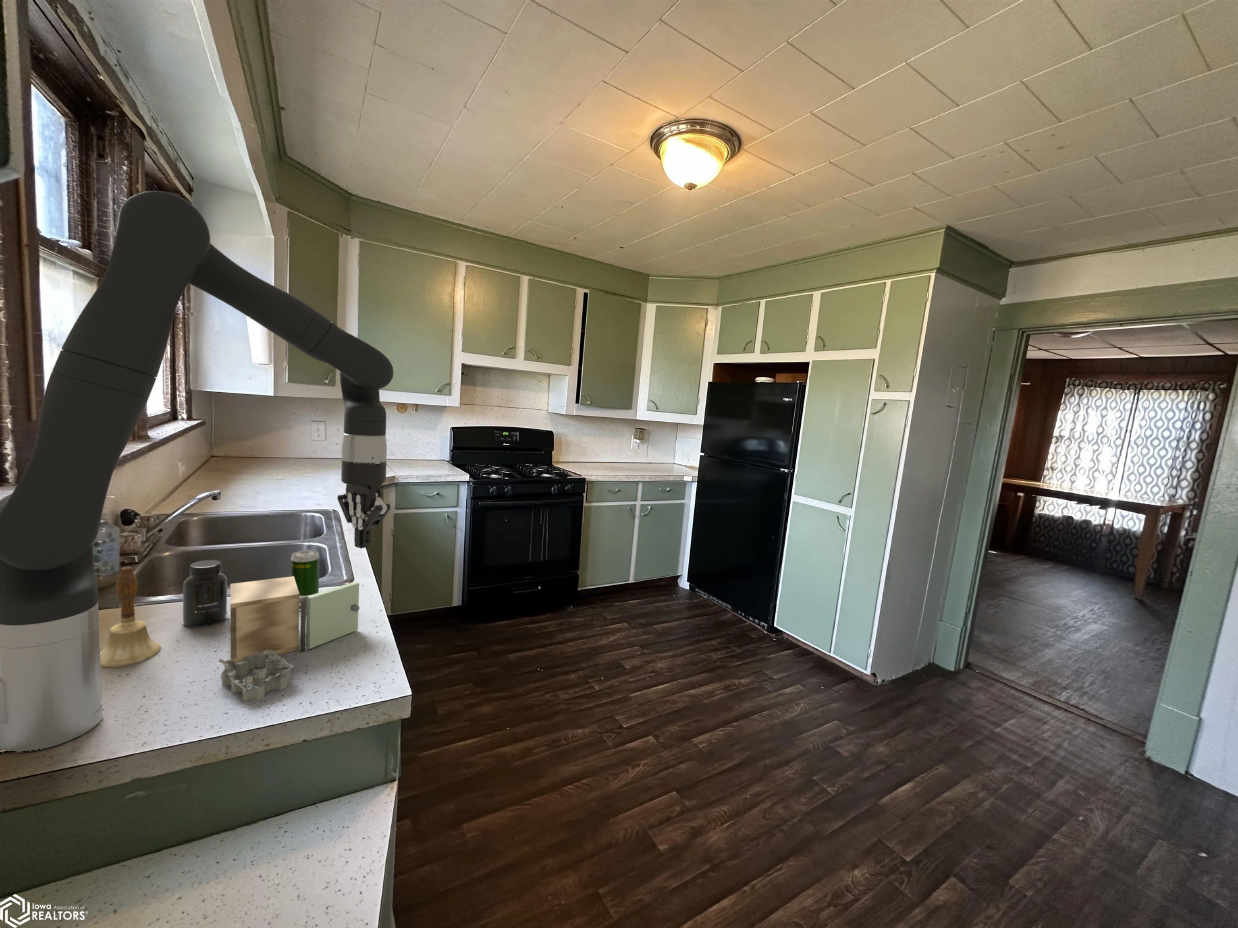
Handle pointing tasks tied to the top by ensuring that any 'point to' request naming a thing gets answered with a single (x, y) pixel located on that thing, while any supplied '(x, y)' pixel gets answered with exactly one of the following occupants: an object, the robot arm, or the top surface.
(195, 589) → the supplement bottle
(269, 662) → the egg carton
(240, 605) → the cupboard
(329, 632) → the door
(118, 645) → the hand bell
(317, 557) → the beer can
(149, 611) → the top surface
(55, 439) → the robot arm
